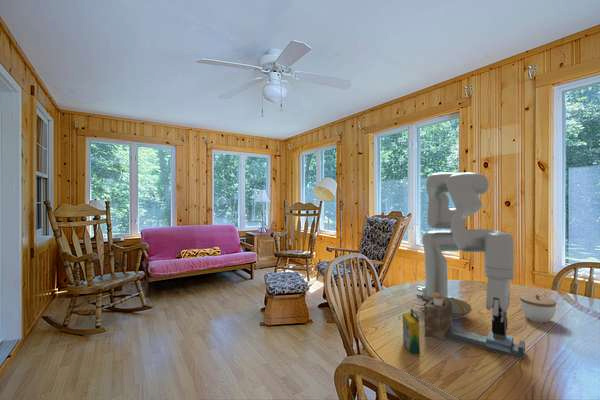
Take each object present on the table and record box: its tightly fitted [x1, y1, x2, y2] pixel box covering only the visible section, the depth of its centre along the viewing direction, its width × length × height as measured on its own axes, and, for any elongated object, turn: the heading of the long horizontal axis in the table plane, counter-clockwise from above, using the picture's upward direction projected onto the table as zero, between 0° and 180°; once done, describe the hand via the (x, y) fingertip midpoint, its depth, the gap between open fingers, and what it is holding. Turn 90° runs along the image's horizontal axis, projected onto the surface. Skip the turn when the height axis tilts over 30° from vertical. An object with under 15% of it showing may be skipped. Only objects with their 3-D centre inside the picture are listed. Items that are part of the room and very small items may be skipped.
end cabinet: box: [423, 299, 453, 341], centre depth 103 cm, size 6×10×10 cm, turn 138°
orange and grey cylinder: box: [433, 293, 443, 307], centre depth 103 cm, size 3×3×7 cm
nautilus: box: [413, 296, 473, 320], centre depth 119 cm, size 8×22×15 cm
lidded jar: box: [519, 294, 557, 323], centre depth 113 cm, size 11×11×9 cm
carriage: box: [486, 309, 514, 353], centre depth 91 cm, size 6×7×11 cm
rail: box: [445, 326, 526, 360], centre depth 94 cm, size 21×5×3 cm, turn 48°
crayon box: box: [402, 307, 421, 355], centre depth 93 cm, size 7×3×12 cm, turn 178°
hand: (499, 330), depth 91 cm, fingers open, 4 cm apart
